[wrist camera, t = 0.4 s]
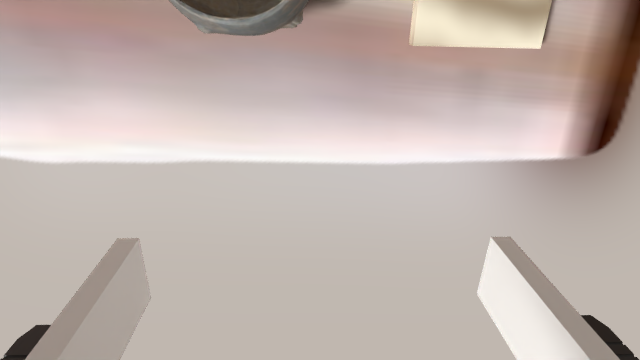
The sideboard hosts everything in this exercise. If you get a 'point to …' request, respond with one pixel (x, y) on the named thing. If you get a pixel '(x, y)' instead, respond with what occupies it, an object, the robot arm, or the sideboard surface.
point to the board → (479, 23)
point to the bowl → (242, 15)
